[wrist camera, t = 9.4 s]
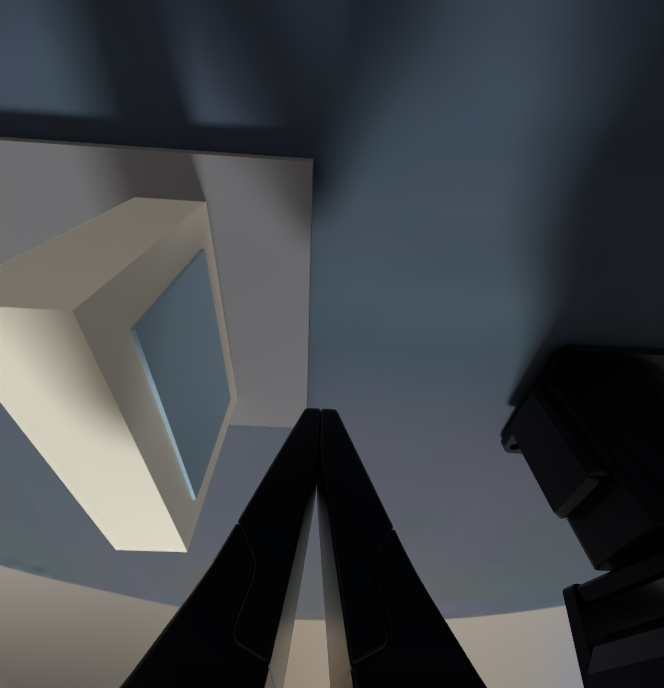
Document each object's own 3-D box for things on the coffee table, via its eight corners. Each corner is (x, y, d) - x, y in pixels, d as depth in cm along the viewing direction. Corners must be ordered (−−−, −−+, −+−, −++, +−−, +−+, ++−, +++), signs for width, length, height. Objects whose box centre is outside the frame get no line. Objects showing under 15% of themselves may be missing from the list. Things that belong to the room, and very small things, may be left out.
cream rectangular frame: (239, 398, 14) (190, 552, 9) (190, 395, 14) (115, 549, 9) (209, 202, 9) (78, 310, 5) (134, 197, 9) (-78, 302, 4)
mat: (313, 158, 9) (312, 161, 9) (307, 418, 16) (306, 428, 15) (-172, 124, 9) (-201, 126, 8) (29, 406, 15) (20, 415, 15)
